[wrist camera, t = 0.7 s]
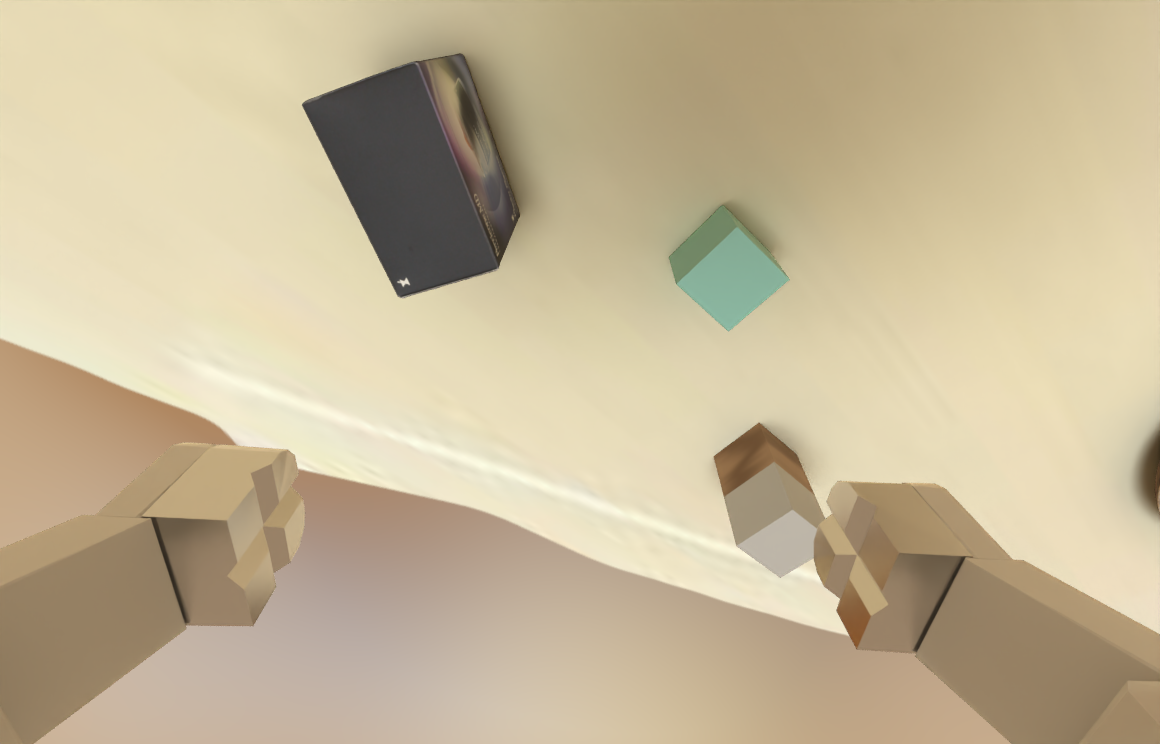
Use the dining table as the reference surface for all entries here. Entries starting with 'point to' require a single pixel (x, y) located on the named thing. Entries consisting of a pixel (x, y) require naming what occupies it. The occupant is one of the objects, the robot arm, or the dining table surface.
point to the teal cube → (726, 269)
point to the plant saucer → (1158, 487)
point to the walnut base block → (756, 459)
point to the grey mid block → (774, 519)
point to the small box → (420, 171)
